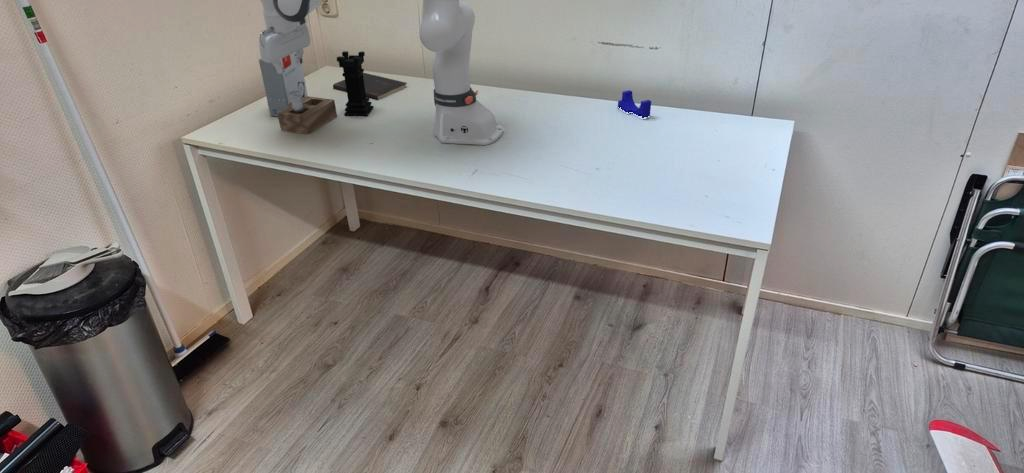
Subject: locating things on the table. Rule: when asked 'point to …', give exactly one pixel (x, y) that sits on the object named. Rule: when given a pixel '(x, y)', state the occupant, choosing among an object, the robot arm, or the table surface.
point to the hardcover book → (375, 86)
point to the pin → (297, 102)
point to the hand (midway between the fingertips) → (290, 68)
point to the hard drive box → (282, 83)
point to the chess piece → (355, 85)
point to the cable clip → (629, 105)
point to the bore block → (308, 115)
